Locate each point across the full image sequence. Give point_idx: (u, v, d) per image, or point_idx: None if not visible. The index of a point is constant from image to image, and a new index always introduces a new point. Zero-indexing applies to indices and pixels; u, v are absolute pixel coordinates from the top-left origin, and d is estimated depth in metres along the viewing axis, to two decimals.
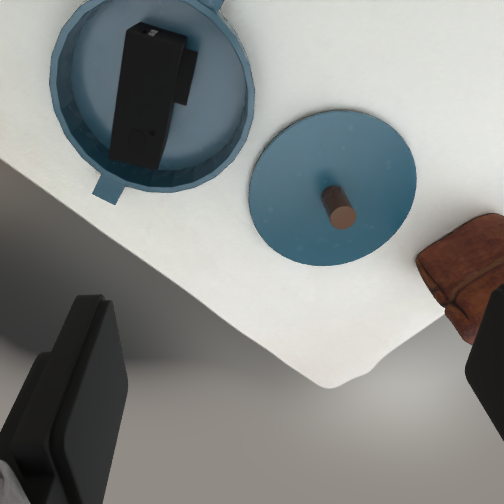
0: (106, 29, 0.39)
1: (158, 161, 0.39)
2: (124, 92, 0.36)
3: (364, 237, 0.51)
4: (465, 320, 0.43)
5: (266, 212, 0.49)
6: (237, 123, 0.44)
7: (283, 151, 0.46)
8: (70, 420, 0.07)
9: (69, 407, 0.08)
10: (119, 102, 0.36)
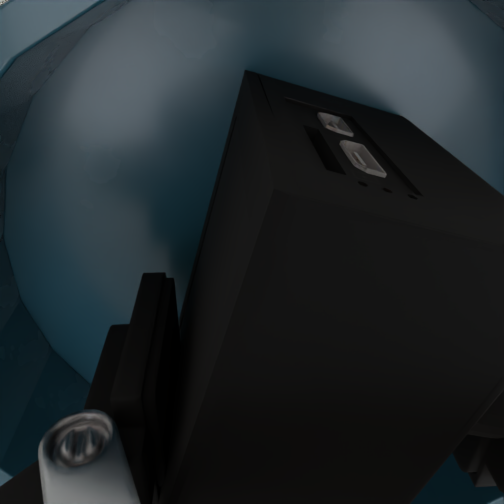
0: (124, 97, 0.11)
1: None
2: (221, 456, 0.07)
3: None
4: None
5: None
6: None
7: None
8: (157, 379, 0.08)
9: (155, 367, 0.08)
10: (192, 488, 0.07)
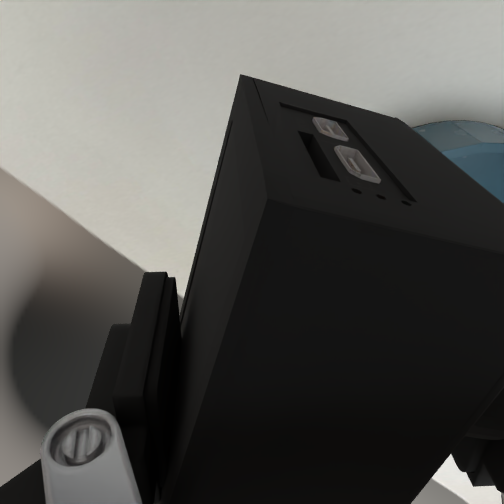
0: None
1: None
2: (220, 462, 0.07)
3: None
4: None
5: None
6: None
7: None
8: (159, 378, 0.08)
9: (157, 367, 0.08)
10: (191, 493, 0.07)
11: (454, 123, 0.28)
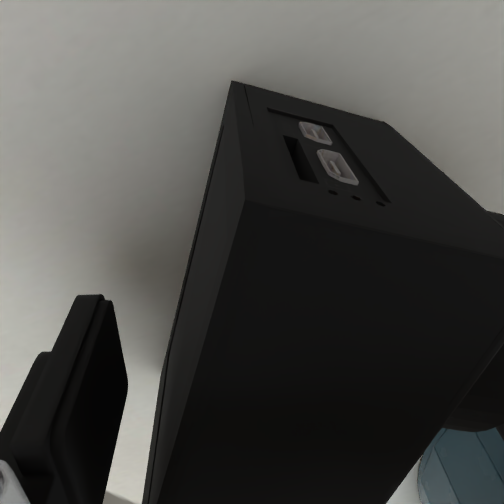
0: None
1: None
2: (207, 451, 0.07)
3: None
4: None
5: None
6: None
7: None
8: (70, 420, 0.07)
9: (69, 407, 0.08)
10: (181, 482, 0.08)
11: None
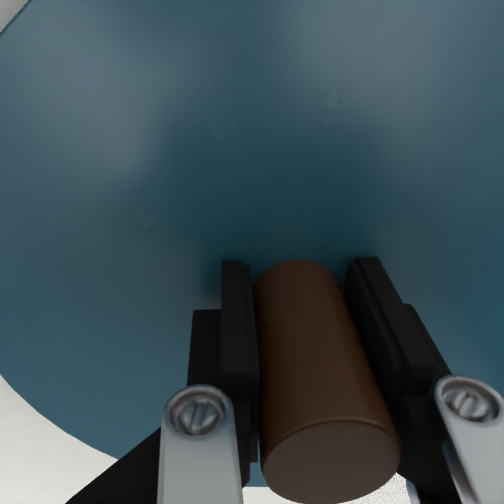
0: None
1: None
2: None
3: None
4: None
5: (47, 355, 0.13)
6: None
7: (46, 116, 0.10)
8: None
9: (254, 347, 0.09)
10: None
11: None
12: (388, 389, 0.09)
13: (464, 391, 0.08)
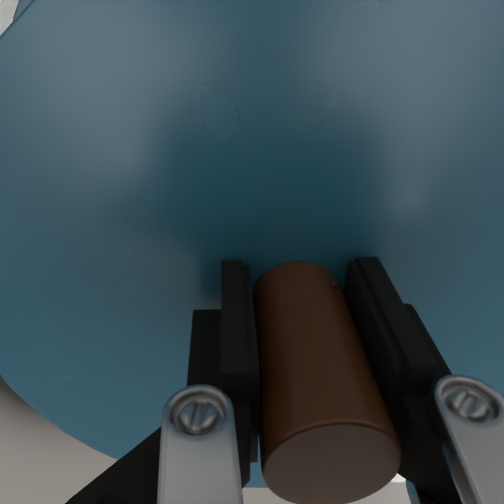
0: None
1: None
2: None
3: None
4: None
5: (47, 356, 0.13)
6: None
7: (46, 118, 0.10)
8: None
9: (254, 347, 0.09)
10: None
11: None
12: (388, 389, 0.09)
13: (464, 391, 0.08)
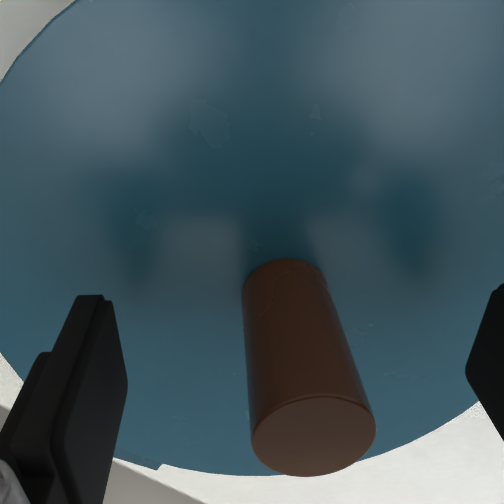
0: None
1: None
2: None
3: (393, 406, 0.16)
4: None
5: None
6: None
7: (58, 128, 0.11)
8: (70, 420, 0.07)
9: (69, 407, 0.08)
10: None
11: None
12: None
13: None
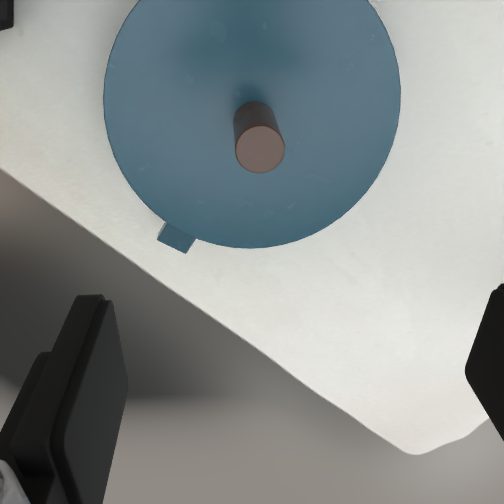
0: None
1: None
2: None
3: (315, 199, 0.31)
4: None
5: (140, 153, 0.28)
6: None
7: (153, 31, 0.25)
8: (70, 420, 0.07)
9: (69, 407, 0.08)
10: None
11: None
12: None
13: None
